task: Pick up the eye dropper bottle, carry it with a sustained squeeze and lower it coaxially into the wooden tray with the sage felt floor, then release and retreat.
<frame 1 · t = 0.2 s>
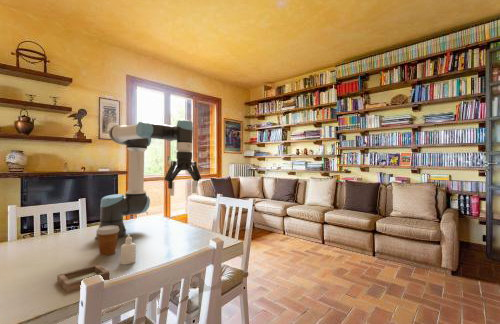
hand: (183, 194, 124), 28 cm above the table, fingers open, 13 cm apart
disposable coffee cup: (107, 253, 118), on the table
wooden tray: (83, 280, 91), on the table
eye dropper bottle: (128, 263, 107), on the table
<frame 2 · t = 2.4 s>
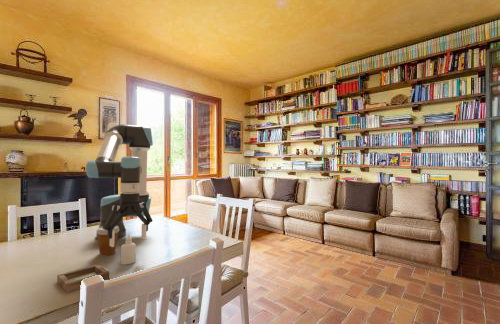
hand: (128, 242, 107), 9 cm above the table, fingers open, 13 cm apart
nothing on the table moved.
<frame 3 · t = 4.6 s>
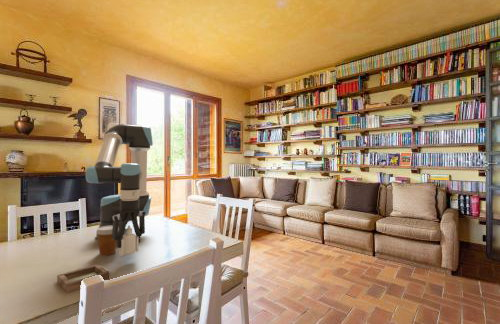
hand: (128, 252, 108), 4 cm above the table, fingers closed on eye dropper bottle, 6 cm apart
eye dropper bottle: (128, 253, 108), point 4 cm above the table, touching gripper
everything else where it was.
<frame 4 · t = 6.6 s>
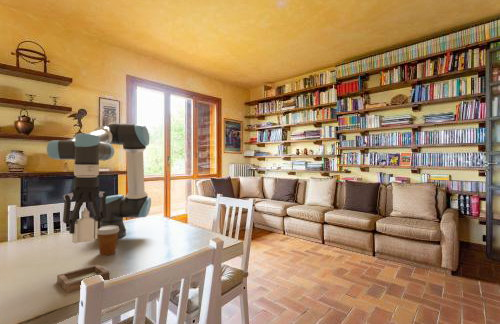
hand: (84, 240, 91), 15 cm above the table, fingers closed on eye dropper bottle, 6 cm apart
eye dropper bottle: (84, 241, 91), point 14 cm above the table, touching gripper
everything else where it was.
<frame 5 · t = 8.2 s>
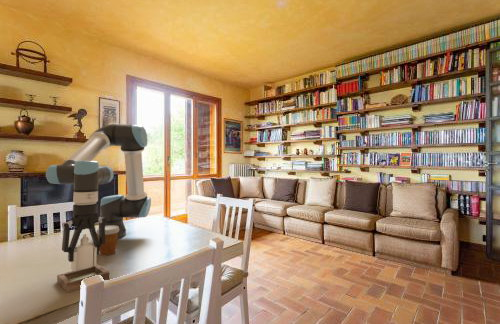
hand: (83, 267, 91), 5 cm above the table, fingers closed on eye dropper bottle, 6 cm apart
eye dropper bottle: (83, 268, 91), point 4 cm above the table, touching gripper
everything else where it was.
when the fingers open (2 cm above the table, at t = 9.1 s): eye dropper bottle drops 1 cm, resting on wooden tray.
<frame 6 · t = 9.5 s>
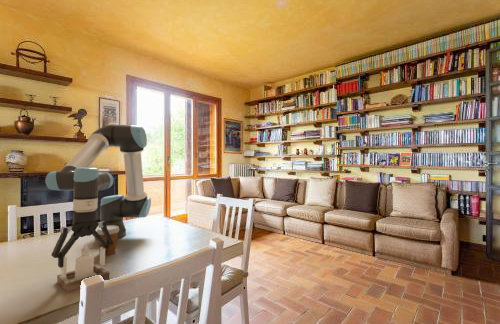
hand: (84, 270, 91), 4 cm above the table, fingers open, 11 cm apart
eye dropper bottle: (83, 279, 91), resting on wooden tray
everything else where it was.
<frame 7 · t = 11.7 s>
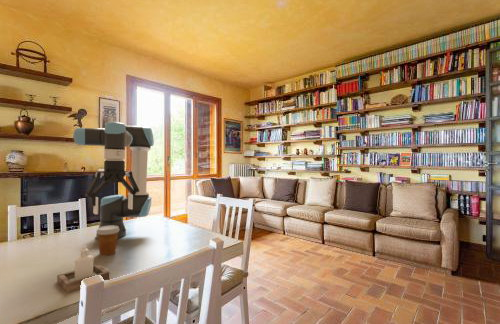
hand: (113, 211, 104), 23 cm above the table, fingers open, 13 cm apart
nothing on the table moved.
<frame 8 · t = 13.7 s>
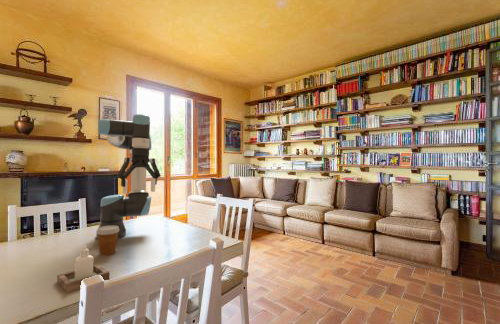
hand: (139, 192, 118), 29 cm above the table, fingers open, 13 cm apart
nothing on the table moved.
at the end: eye dropper bottle inside the target area on the wooden tray (0.2 cm from its centre), point 0.2 cm above the wooden tray's base; eye dropper bottle tilted 0°; the gripper is holding nothing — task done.
